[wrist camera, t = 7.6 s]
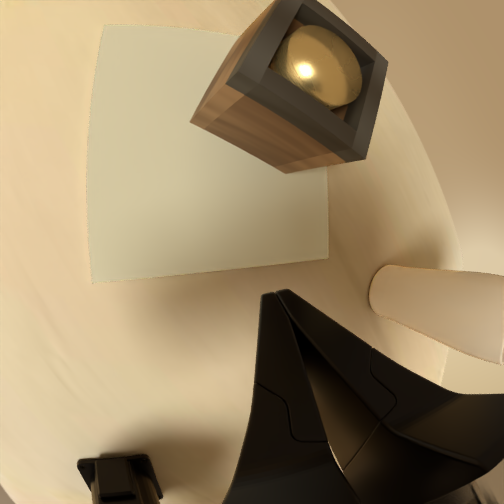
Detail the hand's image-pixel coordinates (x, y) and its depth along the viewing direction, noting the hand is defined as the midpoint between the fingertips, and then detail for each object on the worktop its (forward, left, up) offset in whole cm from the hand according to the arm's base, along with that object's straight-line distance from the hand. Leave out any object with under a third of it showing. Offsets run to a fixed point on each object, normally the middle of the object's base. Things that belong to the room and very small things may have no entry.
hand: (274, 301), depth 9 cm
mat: (+8, -3, -12) cm, 15 cm away
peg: (+11, -6, -12) cm, 17 cm away
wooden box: (+11, -6, -12) cm, 17 cm away
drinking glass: (-5, -20, -12) cm, 24 cm away
